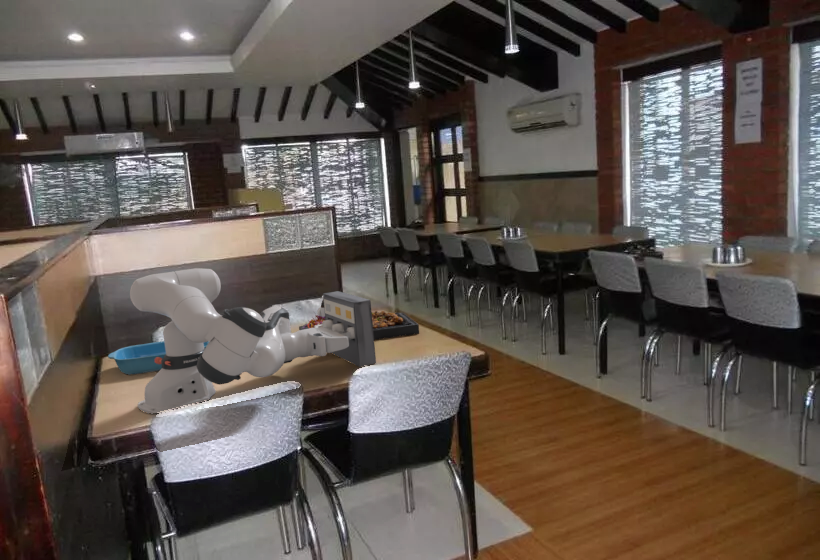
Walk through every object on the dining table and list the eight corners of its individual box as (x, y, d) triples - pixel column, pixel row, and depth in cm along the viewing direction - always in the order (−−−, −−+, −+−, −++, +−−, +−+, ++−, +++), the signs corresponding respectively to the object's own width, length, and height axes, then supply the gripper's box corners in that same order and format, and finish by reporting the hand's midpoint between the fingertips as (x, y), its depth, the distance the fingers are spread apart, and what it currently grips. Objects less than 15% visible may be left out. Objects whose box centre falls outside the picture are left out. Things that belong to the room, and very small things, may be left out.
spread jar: (336, 322, 278) (333, 297, 277) (312, 323, 281) (309, 298, 279) (345, 316, 290) (342, 292, 288) (322, 317, 293) (319, 292, 291)
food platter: (305, 351, 237) (302, 324, 235) (300, 336, 261) (297, 312, 259) (419, 335, 248) (417, 309, 246) (404, 322, 272) (402, 299, 270)
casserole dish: (214, 349, 249) (212, 332, 248) (219, 363, 228) (216, 344, 227) (113, 366, 236) (110, 348, 235) (108, 382, 215) (105, 362, 214)
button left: (327, 332, 223) (326, 321, 222) (322, 330, 226) (321, 320, 225) (338, 330, 225) (337, 319, 224) (334, 328, 228) (333, 317, 228)
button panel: (358, 367, 208) (352, 303, 205) (327, 352, 231) (321, 293, 227) (376, 363, 212) (370, 299, 208) (343, 348, 234) (337, 291, 230)
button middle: (337, 336, 215) (336, 325, 215) (332, 334, 219) (331, 323, 218) (348, 334, 218) (347, 323, 217) (344, 332, 221) (343, 321, 220)
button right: (352, 340, 209) (351, 328, 208) (347, 338, 212) (346, 326, 212) (364, 337, 211) (363, 326, 211) (359, 335, 215) (357, 324, 214)
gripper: (300, 345, 213) (337, 337, 220) (324, 357, 195) (363, 348, 202) (298, 327, 212) (335, 319, 219) (322, 337, 194) (361, 329, 201)
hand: (349, 333), depth 210 cm, fingers closed, pressing on button right
